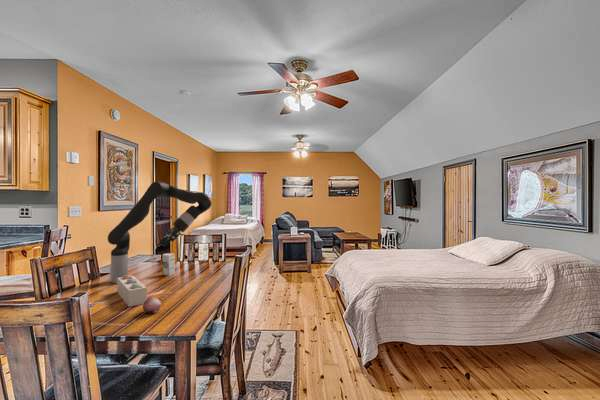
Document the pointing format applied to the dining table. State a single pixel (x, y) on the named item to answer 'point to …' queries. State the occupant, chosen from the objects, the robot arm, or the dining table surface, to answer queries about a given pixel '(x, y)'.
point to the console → (131, 292)
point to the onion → (151, 305)
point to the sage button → (136, 285)
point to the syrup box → (168, 264)
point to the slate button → (130, 281)
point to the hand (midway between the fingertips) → (161, 245)
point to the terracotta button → (126, 277)
